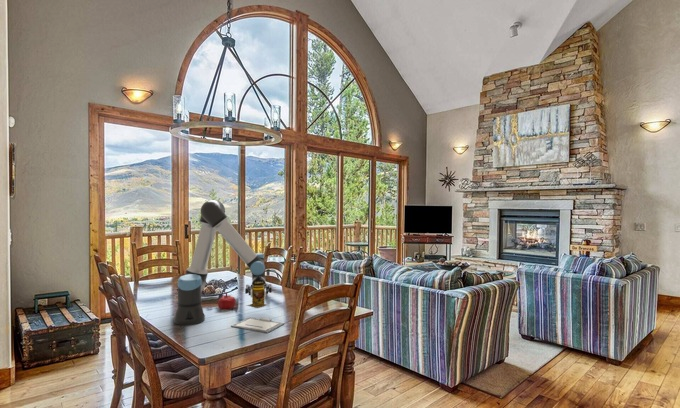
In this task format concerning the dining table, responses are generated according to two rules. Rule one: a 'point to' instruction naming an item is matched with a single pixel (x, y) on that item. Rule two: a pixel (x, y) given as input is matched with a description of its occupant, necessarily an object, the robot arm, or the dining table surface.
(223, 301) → the pomegranate
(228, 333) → the dining table surface
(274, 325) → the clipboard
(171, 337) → the dining table surface
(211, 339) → the dining table surface
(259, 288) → the condiment
